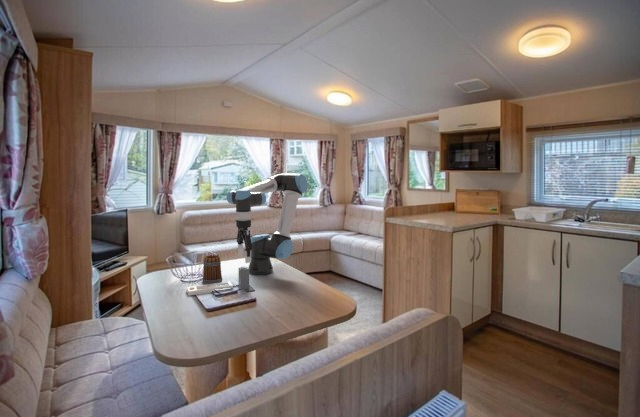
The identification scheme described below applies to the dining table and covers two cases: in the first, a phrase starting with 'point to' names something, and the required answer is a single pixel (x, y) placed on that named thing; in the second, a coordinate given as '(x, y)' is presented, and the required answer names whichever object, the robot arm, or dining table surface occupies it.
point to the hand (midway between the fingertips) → (244, 259)
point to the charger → (244, 278)
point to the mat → (250, 289)
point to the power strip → (207, 288)
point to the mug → (212, 269)
